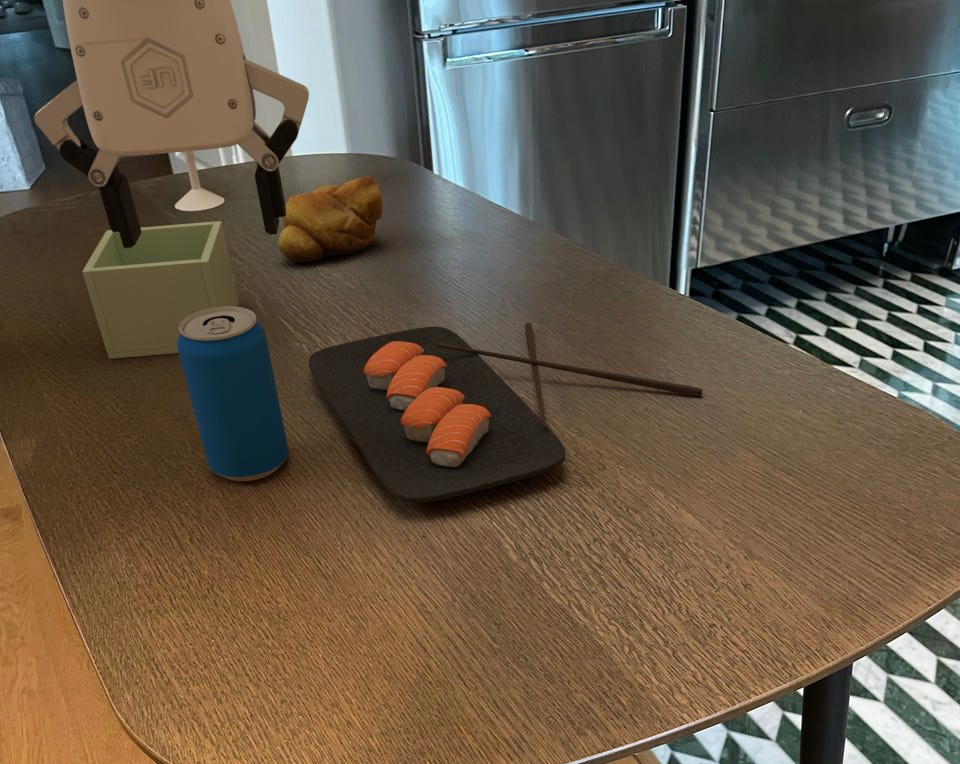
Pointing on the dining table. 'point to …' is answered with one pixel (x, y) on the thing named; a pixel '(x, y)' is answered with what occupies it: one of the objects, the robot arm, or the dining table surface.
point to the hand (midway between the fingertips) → (203, 234)
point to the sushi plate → (443, 412)
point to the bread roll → (331, 220)
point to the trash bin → (157, 285)
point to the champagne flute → (196, 191)
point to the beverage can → (233, 392)
